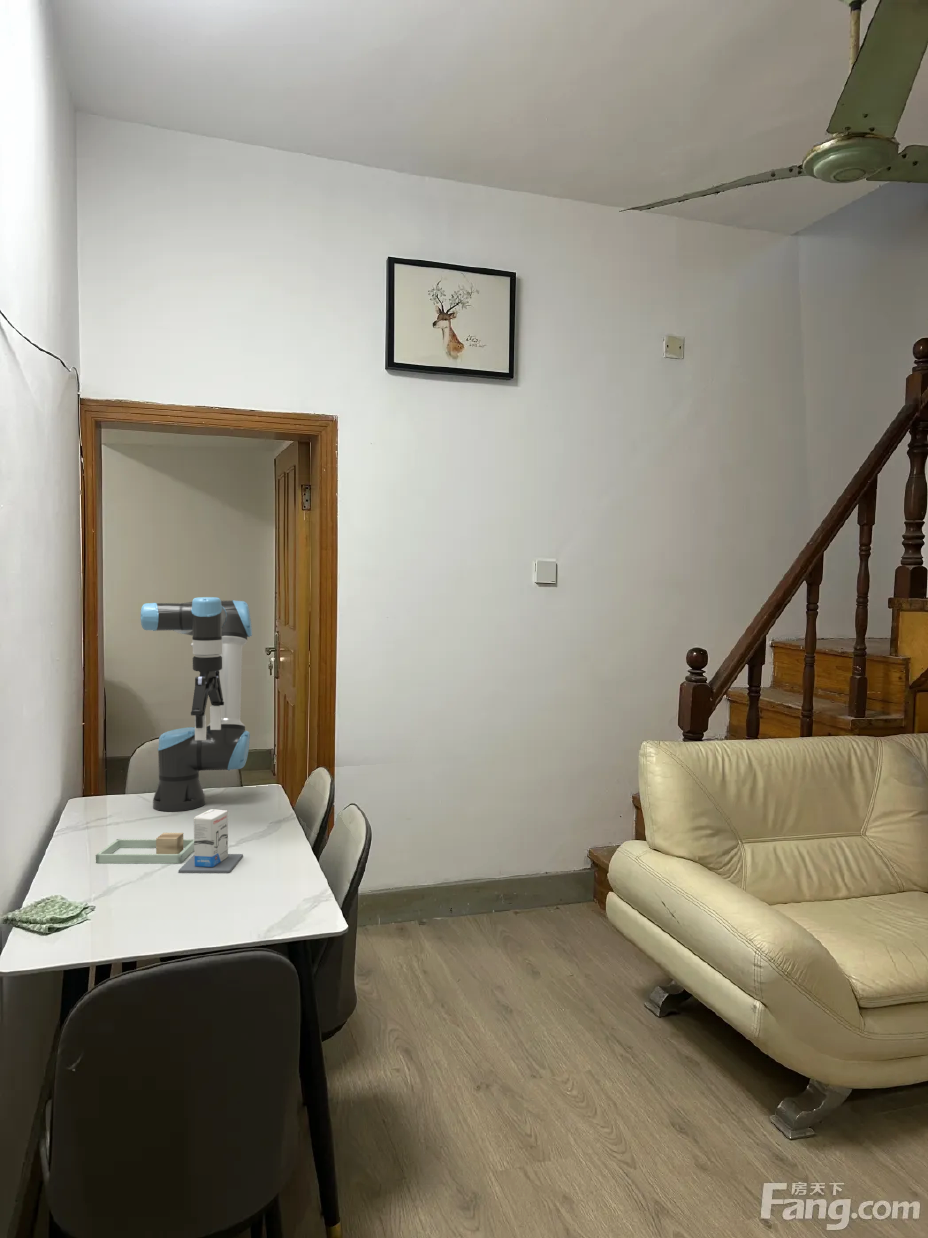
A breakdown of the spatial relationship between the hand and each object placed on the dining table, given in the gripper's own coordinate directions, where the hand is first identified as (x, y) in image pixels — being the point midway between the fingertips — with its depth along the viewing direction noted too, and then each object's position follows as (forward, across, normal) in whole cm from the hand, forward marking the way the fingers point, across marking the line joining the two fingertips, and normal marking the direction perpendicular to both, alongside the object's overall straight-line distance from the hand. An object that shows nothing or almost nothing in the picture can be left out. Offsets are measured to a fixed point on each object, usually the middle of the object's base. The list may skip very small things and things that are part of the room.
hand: (208, 734), depth 223 cm
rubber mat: (+27, +23, +7) cm, 36 cm away
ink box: (+27, +22, +7) cm, 36 cm away
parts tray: (+27, +16, -11) cm, 33 cm away
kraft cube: (+27, +16, -5) cm, 32 cm away
